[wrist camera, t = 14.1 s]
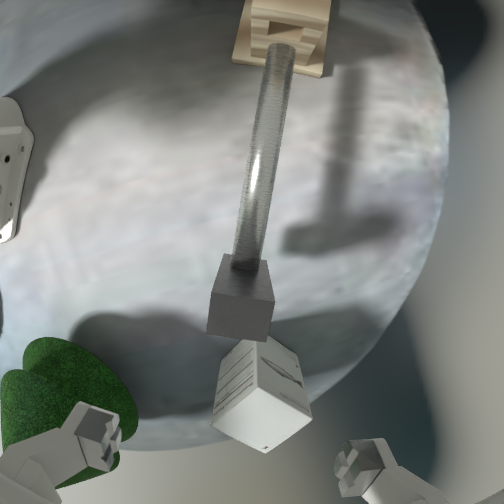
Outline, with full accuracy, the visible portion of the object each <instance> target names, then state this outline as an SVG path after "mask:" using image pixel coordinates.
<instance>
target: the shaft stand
mask: <svg viewBox="0 0 504 504" xmlns="http://www.w3.org/2000/svg"><path fill="white" fill-rule="evenodd" d="M330 6H331V0H245V4H244V8H243V12H242V16H241V20H240V24H239V28H238V33H237V37H236V41H235V45H234V50H233V54H232V63H237V64H245V65H252V66H259V67H264V66H265V61H266V56H267V51H268V46H269V45H270V44H273V43H283V44H287V45H290V46H292V47H294V48H295V49H296V57H295V63H294V69H293V73H297V74H302V75H307V76H311V77H315V78H320V76H321V75H322V71H323V64H324V56H325V48H326V40H327V32H328V24H329V15H330Z"/></svg>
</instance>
